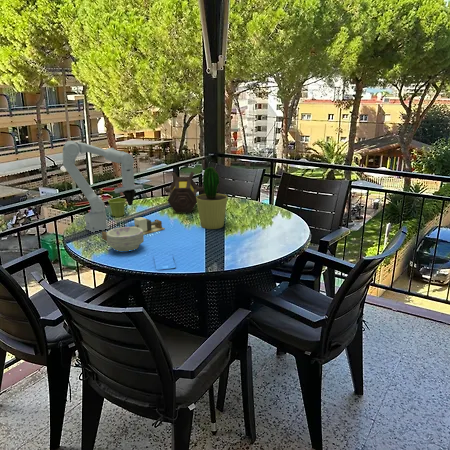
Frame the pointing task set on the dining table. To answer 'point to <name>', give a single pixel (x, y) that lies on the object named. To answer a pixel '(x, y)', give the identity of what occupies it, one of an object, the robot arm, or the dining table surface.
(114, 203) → the plant pot
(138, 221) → the pale sage cube
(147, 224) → the bracket
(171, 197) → the lantern
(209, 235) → the dining table surface
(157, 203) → the dining table surface
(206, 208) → the potted cactus
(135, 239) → the paper bowls
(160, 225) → the pipe stand
